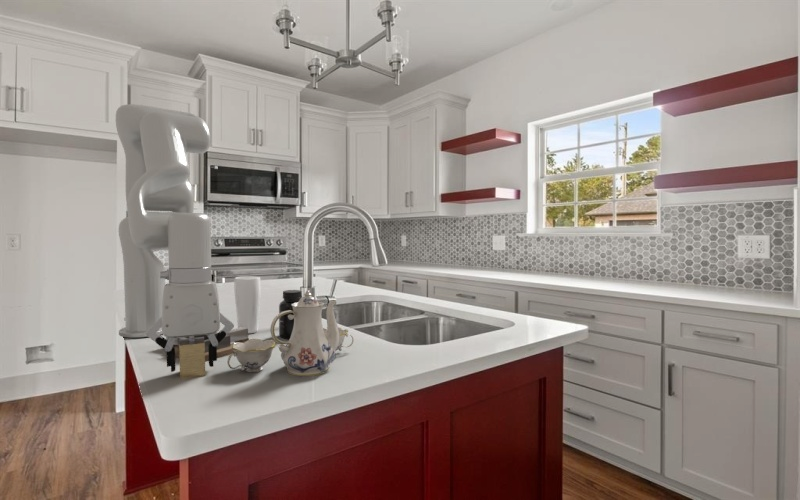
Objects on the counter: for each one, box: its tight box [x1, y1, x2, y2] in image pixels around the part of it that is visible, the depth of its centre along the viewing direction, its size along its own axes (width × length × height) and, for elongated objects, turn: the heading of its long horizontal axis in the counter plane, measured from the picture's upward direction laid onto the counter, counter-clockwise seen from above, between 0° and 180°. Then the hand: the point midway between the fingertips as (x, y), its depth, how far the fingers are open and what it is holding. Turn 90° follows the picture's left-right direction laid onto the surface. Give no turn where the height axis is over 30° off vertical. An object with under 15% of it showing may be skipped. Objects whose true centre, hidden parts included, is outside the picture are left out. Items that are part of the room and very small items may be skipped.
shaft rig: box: [165, 327, 250, 362], centre depth 104 cm, size 17×16×4 cm
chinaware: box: [227, 290, 354, 377], centre depth 92 cm, size 28×17×17 cm, turn 135°
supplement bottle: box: [278, 289, 303, 340], centre depth 115 cm, size 7×7×12 cm
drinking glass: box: [233, 275, 262, 335], centre depth 119 cm, size 7×7×15 cm
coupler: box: [179, 336, 206, 380], centre depth 86 cm, size 4×4×7 cm
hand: (192, 366), depth 86 cm, fingers open, 6 cm apart
